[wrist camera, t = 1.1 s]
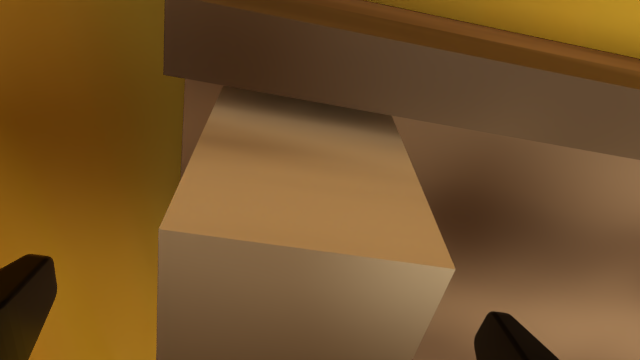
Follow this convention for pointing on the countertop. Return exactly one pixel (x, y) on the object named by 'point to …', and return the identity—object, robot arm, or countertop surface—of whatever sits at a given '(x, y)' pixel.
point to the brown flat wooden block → (462, 150)
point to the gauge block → (297, 238)
